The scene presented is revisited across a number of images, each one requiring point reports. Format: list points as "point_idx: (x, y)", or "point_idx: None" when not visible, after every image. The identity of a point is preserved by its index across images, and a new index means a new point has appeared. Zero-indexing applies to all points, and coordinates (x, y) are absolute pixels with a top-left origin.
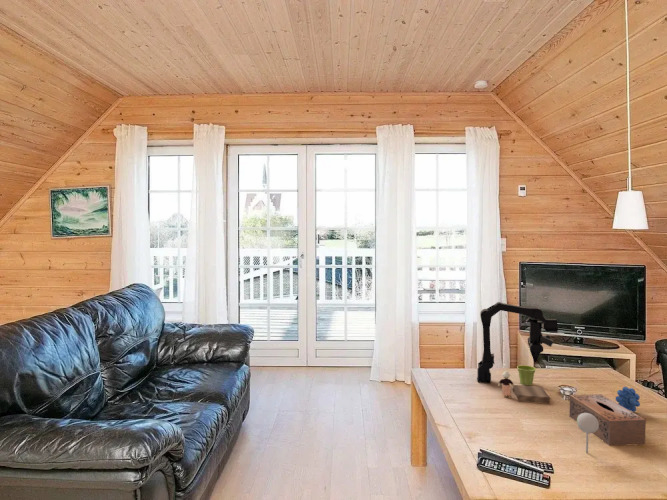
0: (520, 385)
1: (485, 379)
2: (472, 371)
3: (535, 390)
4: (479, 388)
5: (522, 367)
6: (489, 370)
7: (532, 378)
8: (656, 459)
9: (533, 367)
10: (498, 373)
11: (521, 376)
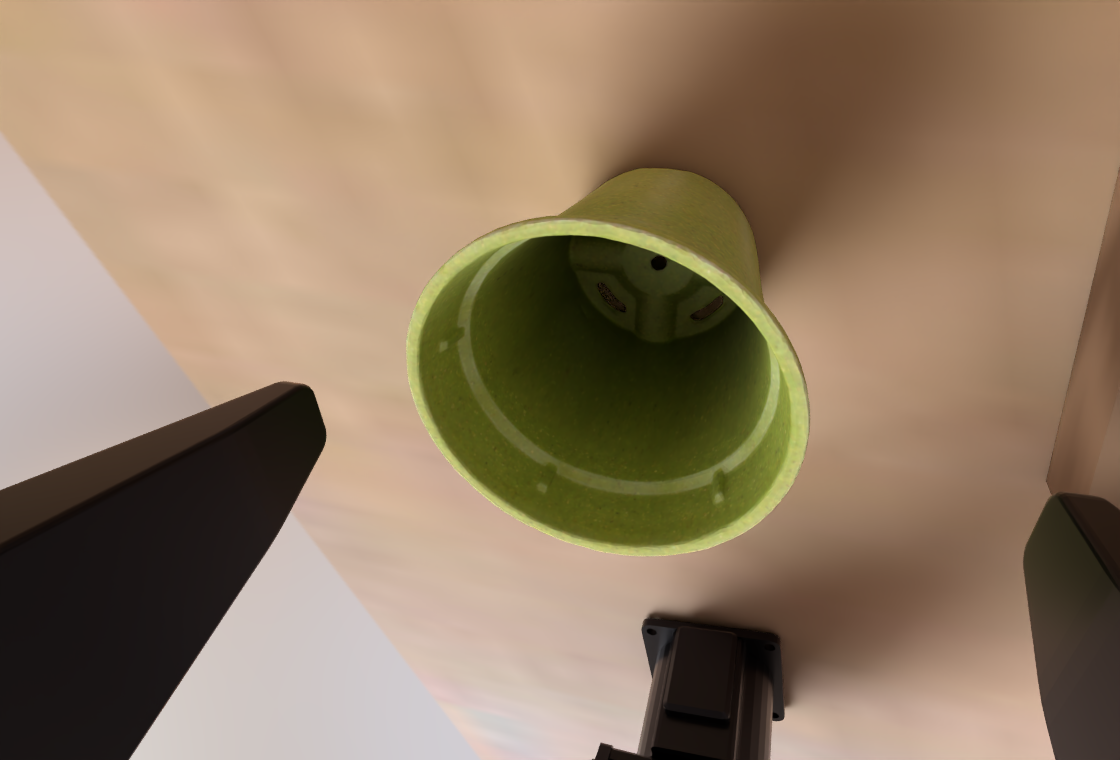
0: (1106, 455)
1: (770, 698)
2: (470, 668)
3: None
4: (984, 746)
5: (468, 420)
6: (706, 757)
7: (712, 218)
8: None
9: (478, 258)
10: (406, 498)
11: (719, 409)
